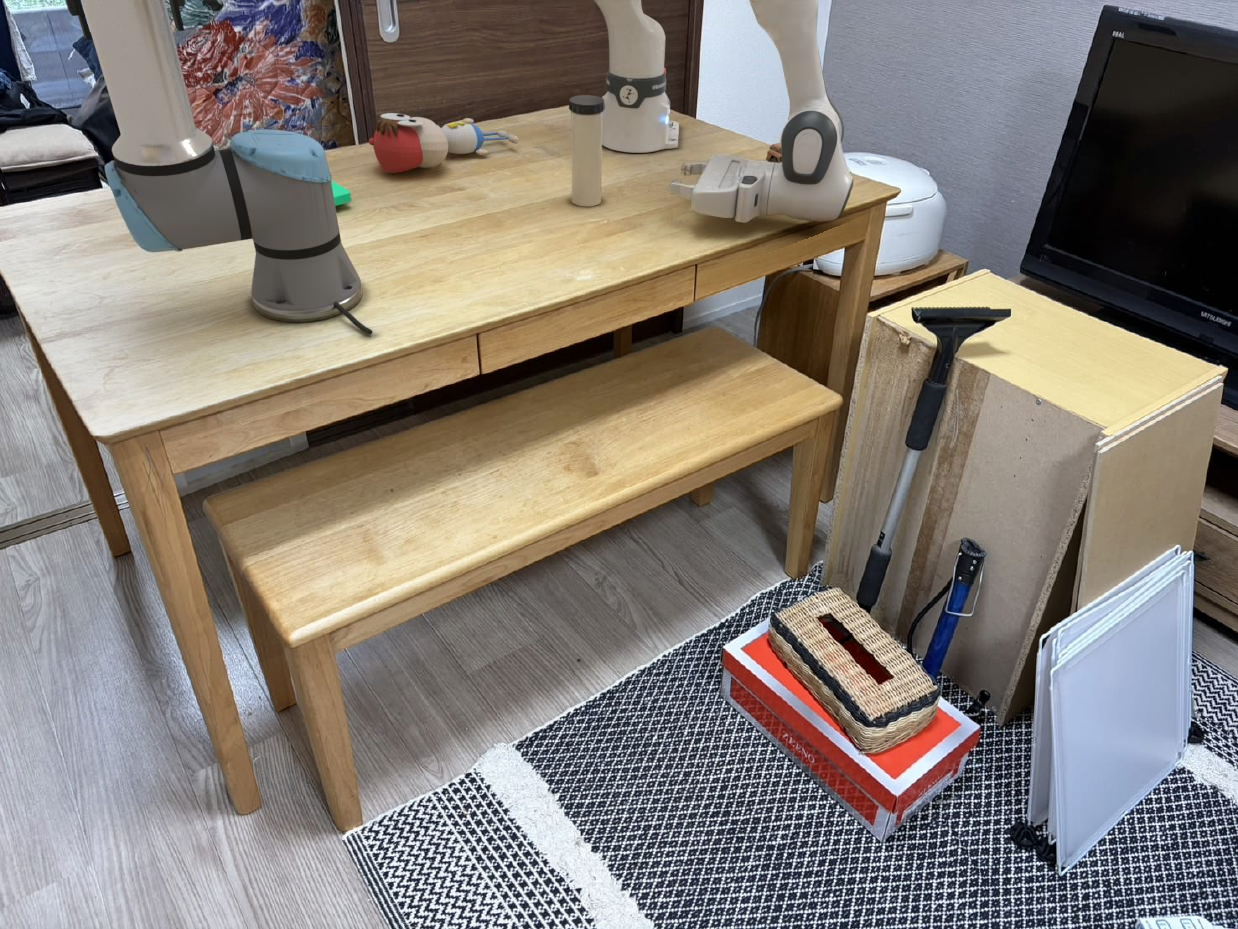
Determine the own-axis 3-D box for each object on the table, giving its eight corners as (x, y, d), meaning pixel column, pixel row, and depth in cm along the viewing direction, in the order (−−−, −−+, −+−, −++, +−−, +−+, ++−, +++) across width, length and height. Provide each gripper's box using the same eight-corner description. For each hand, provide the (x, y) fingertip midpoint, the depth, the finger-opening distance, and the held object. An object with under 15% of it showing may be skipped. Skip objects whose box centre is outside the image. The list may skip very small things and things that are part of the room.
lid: (580, 102, 162) (580, 92, 161) (611, 107, 159) (611, 98, 158) (562, 110, 157) (562, 101, 156) (593, 116, 155) (593, 107, 154)
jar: (581, 193, 171) (581, 96, 161) (606, 199, 169) (608, 101, 159) (566, 202, 167) (565, 103, 157) (591, 208, 165) (592, 109, 155)
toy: (535, 119, 180) (386, 123, 165) (533, 173, 185) (388, 181, 170) (493, 104, 193) (352, 106, 178) (493, 155, 198) (355, 160, 183)
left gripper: (177, -129, 142) (210, 21, 155) (-9, -125, 131) (44, 36, 143) (188, -125, 137) (222, 30, 150) (-3, -121, 126) (51, 46, 138)
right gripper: (764, 149, 165) (688, 140, 168) (747, 189, 149) (664, 179, 152) (760, 184, 169) (686, 175, 171) (743, 227, 153) (662, 216, 156)
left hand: (135, 33), depth 147 cm, fingers open, 13 cm apart
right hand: (675, 177), depth 162 cm, fingers open, 8 cm apart
